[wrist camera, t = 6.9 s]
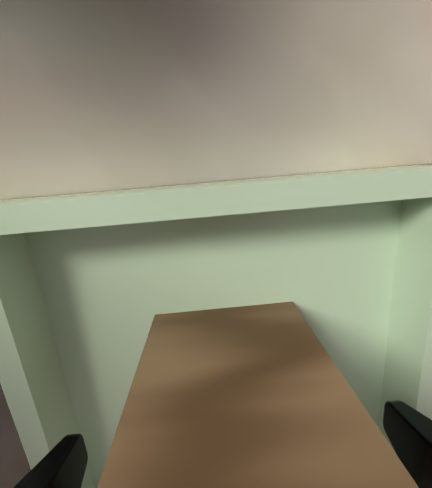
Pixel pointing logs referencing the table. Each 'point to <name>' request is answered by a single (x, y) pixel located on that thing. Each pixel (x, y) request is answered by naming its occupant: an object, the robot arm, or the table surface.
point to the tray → (210, 287)
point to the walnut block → (245, 409)
